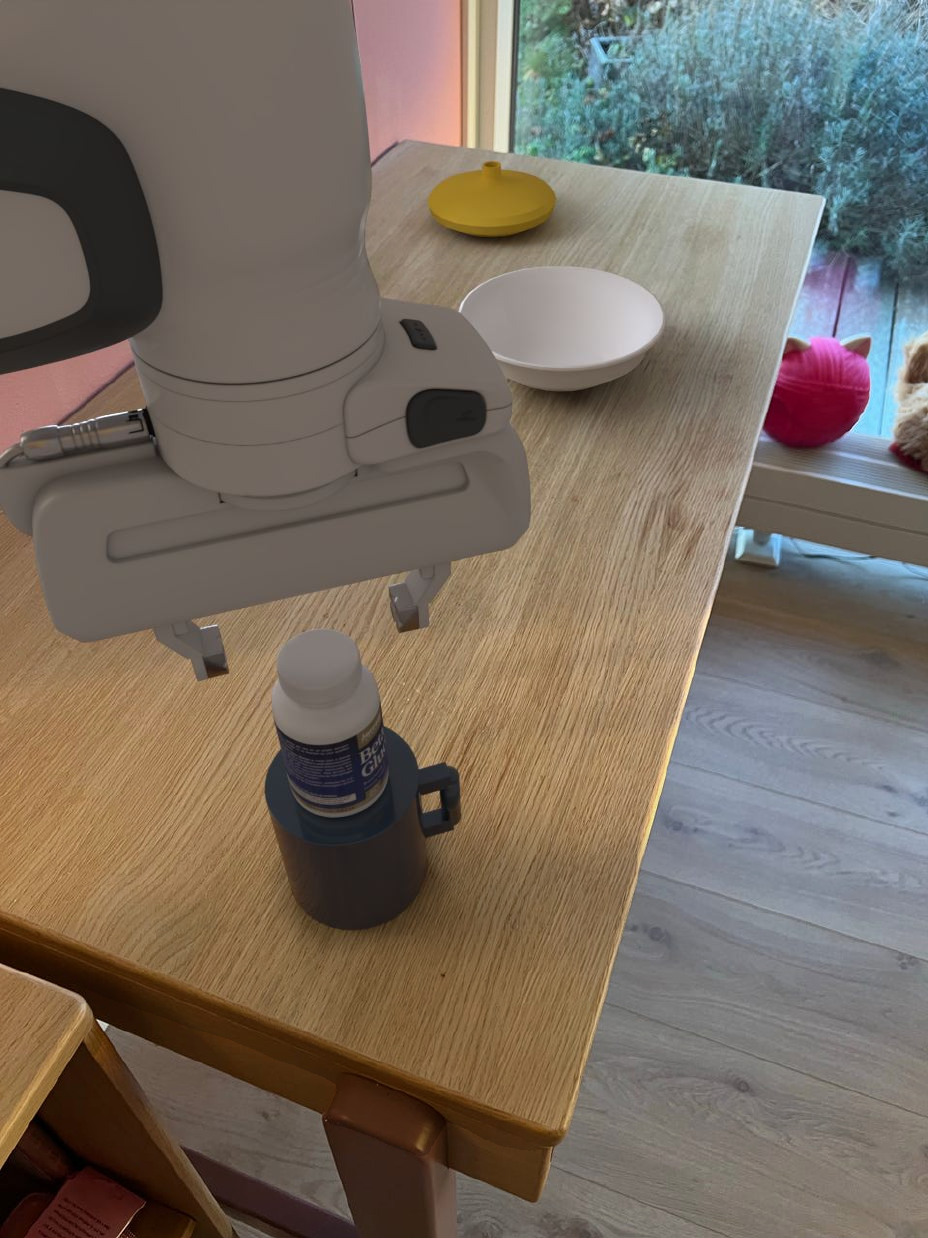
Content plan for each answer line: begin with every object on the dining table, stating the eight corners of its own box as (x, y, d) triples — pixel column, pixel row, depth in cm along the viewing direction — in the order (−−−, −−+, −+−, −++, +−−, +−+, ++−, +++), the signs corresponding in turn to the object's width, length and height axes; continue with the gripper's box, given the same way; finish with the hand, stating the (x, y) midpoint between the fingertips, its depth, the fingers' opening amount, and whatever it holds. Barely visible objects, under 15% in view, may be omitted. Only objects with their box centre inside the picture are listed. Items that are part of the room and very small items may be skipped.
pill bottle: (386, 821, 52) (369, 700, 46) (284, 821, 53) (251, 701, 46) (393, 739, 56) (378, 616, 49) (298, 739, 56) (269, 617, 49)
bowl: (558, 455, 90) (561, 393, 85) (418, 369, 101) (414, 311, 96) (701, 373, 99) (710, 314, 94) (558, 303, 109) (560, 246, 105)
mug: (304, 948, 57) (279, 865, 51) (277, 829, 63) (252, 740, 56) (483, 894, 59) (481, 807, 53) (442, 783, 65) (435, 692, 59)
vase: (571, 242, 120) (574, 182, 115) (442, 258, 118) (439, 198, 113) (536, 190, 131) (538, 134, 126) (418, 204, 129) (414, 147, 124)
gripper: (-30, 495, 33) (88, 752, 43) (553, 384, 37) (538, 641, 47) (-26, 394, 37) (80, 648, 47) (497, 305, 41) (494, 555, 51)
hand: (313, 644), depth 47 cm, fingers open, 8 cm apart
